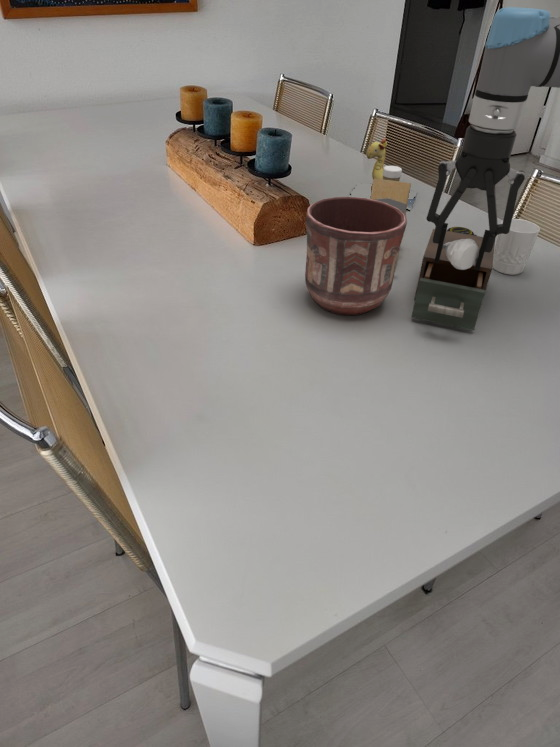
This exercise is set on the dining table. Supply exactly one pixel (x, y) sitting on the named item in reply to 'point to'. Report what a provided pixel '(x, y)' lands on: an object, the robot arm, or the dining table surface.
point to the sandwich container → (391, 194)
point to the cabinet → (431, 254)
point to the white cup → (515, 247)
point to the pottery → (352, 252)
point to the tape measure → (461, 230)
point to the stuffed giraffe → (380, 162)
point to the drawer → (449, 296)
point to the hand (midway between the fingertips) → (457, 263)
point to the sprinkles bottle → (392, 173)
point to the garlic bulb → (462, 253)
